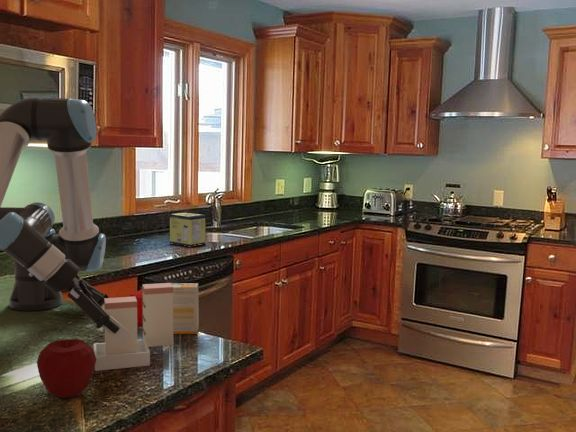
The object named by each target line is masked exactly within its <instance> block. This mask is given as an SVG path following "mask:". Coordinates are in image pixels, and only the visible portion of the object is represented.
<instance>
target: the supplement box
mask: <svg viewBox="0 0 576 432" xmlns="http://www.w3.org/2000/svg"><path fill="white" fill-rule="evenodd" d="M170 283H171V284H172V286H173V335H197V334H198V331H199V325H200V323H199V322H200V321H199V320H200V319H199V318H200V317H199V316H200V315H199V311H200V309H199V304H200V303H199V283H198V282H197V283H196V282H195V283H194V282H193V283H192V282H191V283H190V282H189V283H186V282H184V283H182V282H181V283H180V282H179V283H178V282H170ZM196 333H197V334H196Z"/></svg>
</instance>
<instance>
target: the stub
mask: <svg viewBox="0 0 576 432" xmlns="http://www.w3.org/2000/svg"><path fill="white" fill-rule="evenodd" d="M104 311H105V312H106V313H107V314H108V315H109V317H110V316H112V317H113V318H114V319H115V320H116V321H117V322H119V323H120V324H121V325H122V326H123V327H125V328H126V329H127V330H128V331H129V332H131V333H132V336H131V337H130V338H129V339H128V340H127V341H126V343H125V344H123V343H122V342H121V341H119V340H118V339H117V338H116V337H115V336H113V335H112V334H111V333H110V332H109V331H107V330H106V329H105V328H104V343H105V356H108V355H119V354H129V353H137V340H138V325H137V300H136V297H135V296H134V297H128V296H121V297H108V298H104Z"/></svg>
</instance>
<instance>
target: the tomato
mask: <svg viewBox="0 0 576 432" xmlns="http://www.w3.org/2000/svg"><path fill="white" fill-rule="evenodd" d="M134 296H135V297H136V300H137V327H138V326H139V327H143V317H142V313H143V304H142V300H143V290H142V286H140V289H139V290H137V291H133V292H131V293H129V295H128V296H127V297H134Z"/></svg>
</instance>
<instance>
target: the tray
mask: <svg viewBox="0 0 576 432" xmlns="http://www.w3.org/2000/svg"><path fill="white" fill-rule="evenodd" d="M93 351H94V353H95V356H96V363H95V368H94V371H95V372H98V371H107V370H119V369H126V368H127V369H128V368H136V367H137V368H139V367H147V366H151V351H150V347H148V345H147V342H146V339H143V338H142V339H137V353H129V354H119V355H108V356H105V342H99V343H97V342H96V343H95V342H94V343H93Z"/></svg>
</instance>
